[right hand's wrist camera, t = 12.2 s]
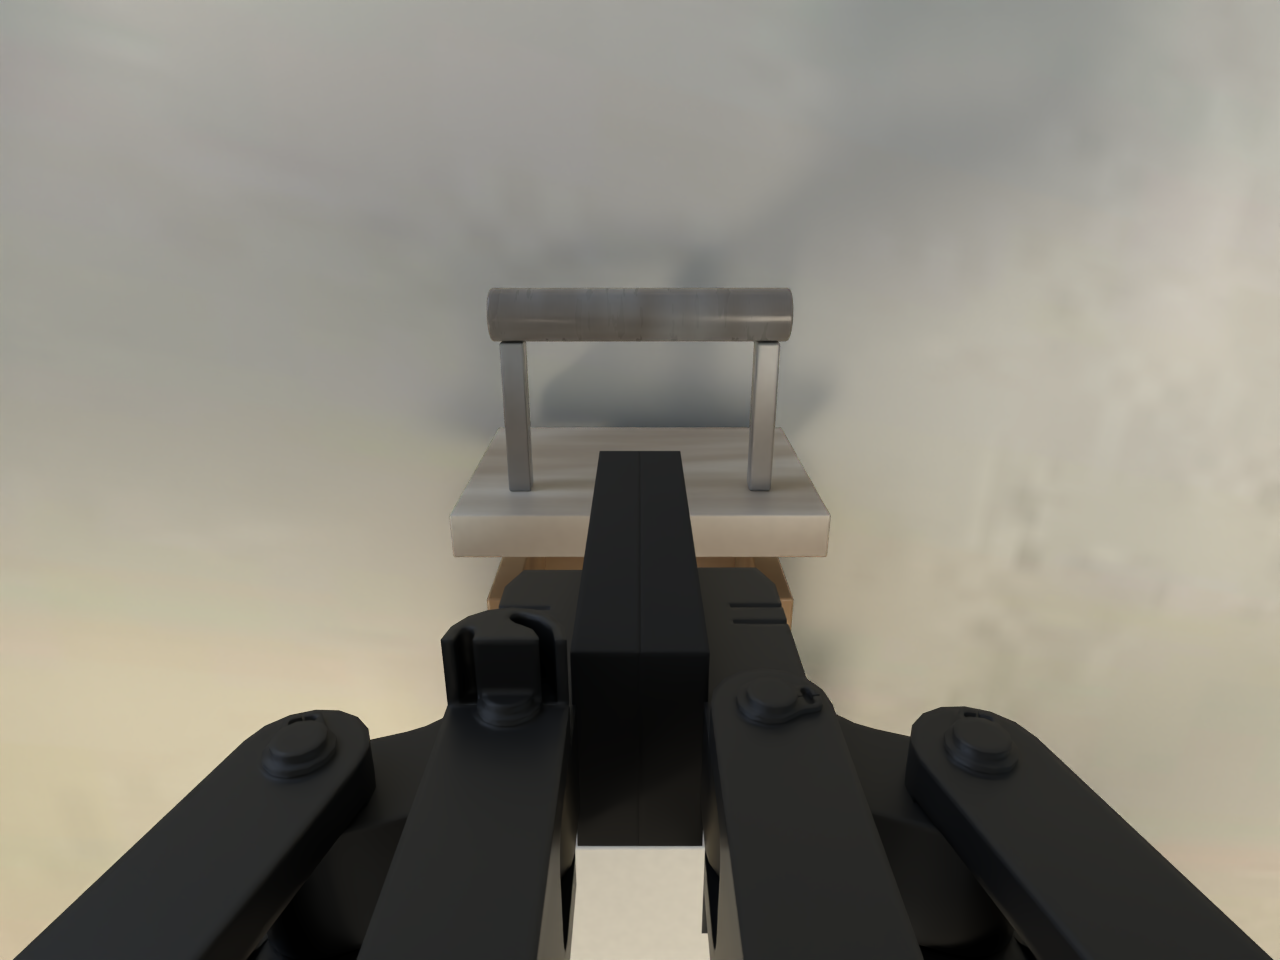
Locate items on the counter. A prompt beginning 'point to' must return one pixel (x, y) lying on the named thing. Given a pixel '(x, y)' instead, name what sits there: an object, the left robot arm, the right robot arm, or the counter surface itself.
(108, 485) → the counter surface
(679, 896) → the cabinet
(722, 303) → the drawer
